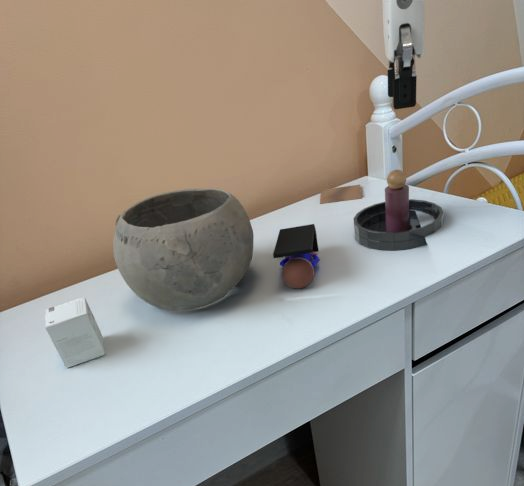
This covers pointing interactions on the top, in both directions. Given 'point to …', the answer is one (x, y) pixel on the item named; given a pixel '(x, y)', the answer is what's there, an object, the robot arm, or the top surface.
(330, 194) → the coaster
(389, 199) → the purple vial
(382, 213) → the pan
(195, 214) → the bowl
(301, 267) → the figurine character
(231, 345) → the top surface
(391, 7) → the robot arm
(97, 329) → the white cardboard box
